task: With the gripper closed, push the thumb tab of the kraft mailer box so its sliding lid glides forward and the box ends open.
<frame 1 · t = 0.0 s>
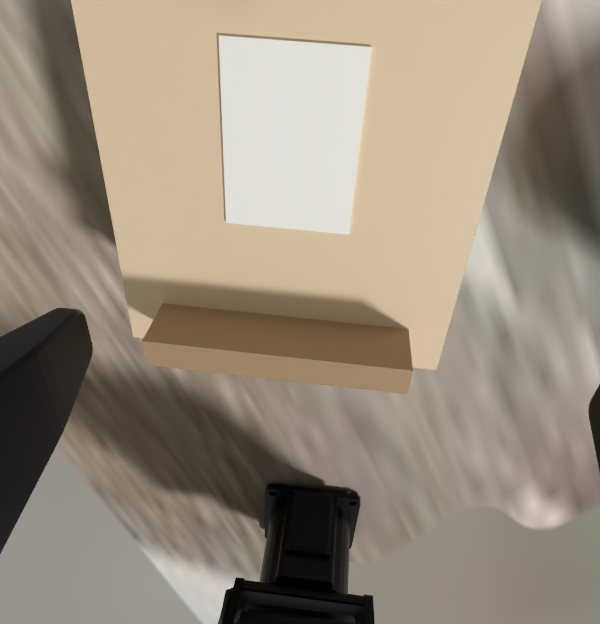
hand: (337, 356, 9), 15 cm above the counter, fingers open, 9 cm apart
lid: (285, 213, 17), point 6 cm above the counter, slide at 0.0 cm
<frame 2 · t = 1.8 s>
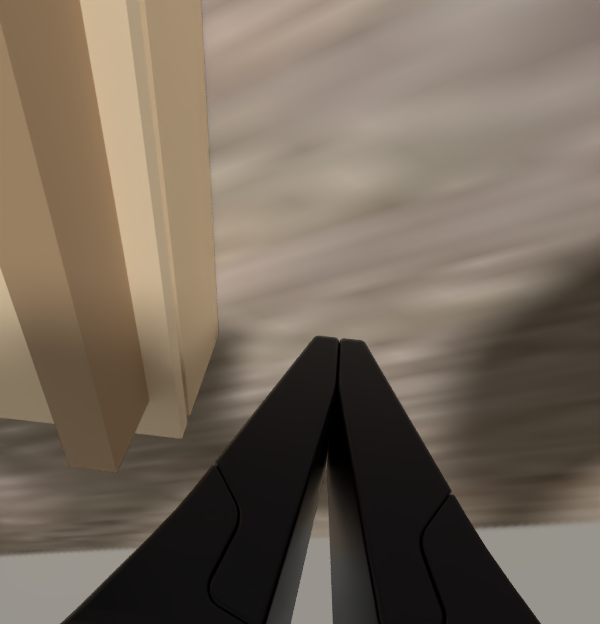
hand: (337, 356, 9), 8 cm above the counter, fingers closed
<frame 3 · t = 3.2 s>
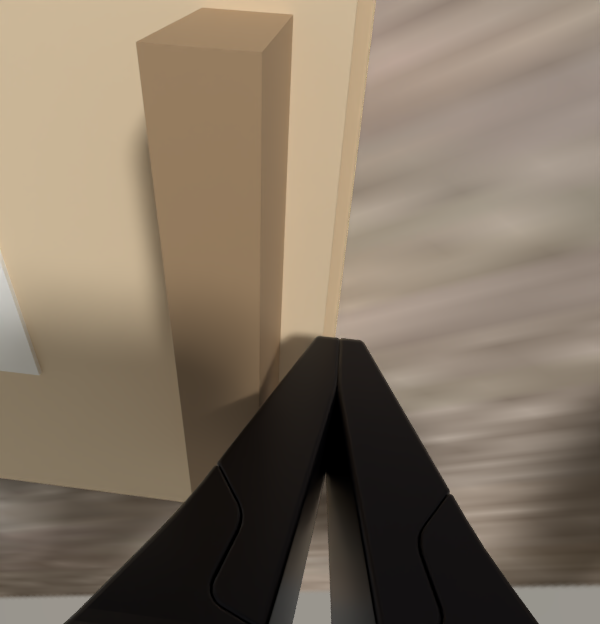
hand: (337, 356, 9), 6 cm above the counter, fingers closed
mailer box: (86, 183, 14), on the counter
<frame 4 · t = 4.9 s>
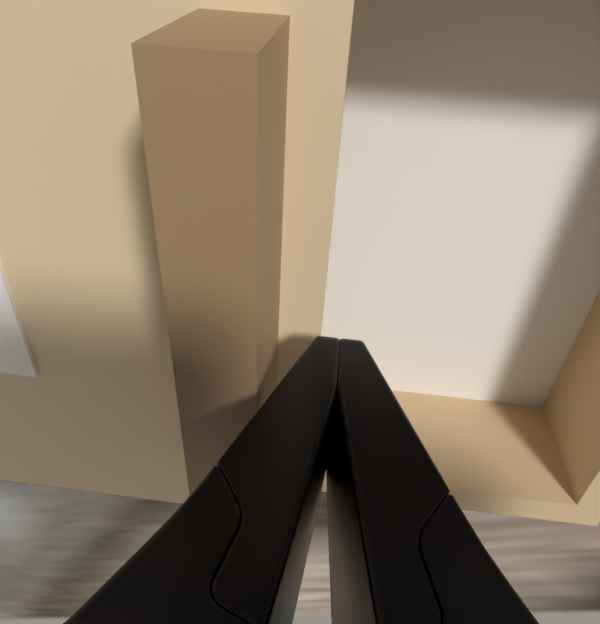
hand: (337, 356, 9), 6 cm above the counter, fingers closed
mailer box: (366, 211, 14), on the counter
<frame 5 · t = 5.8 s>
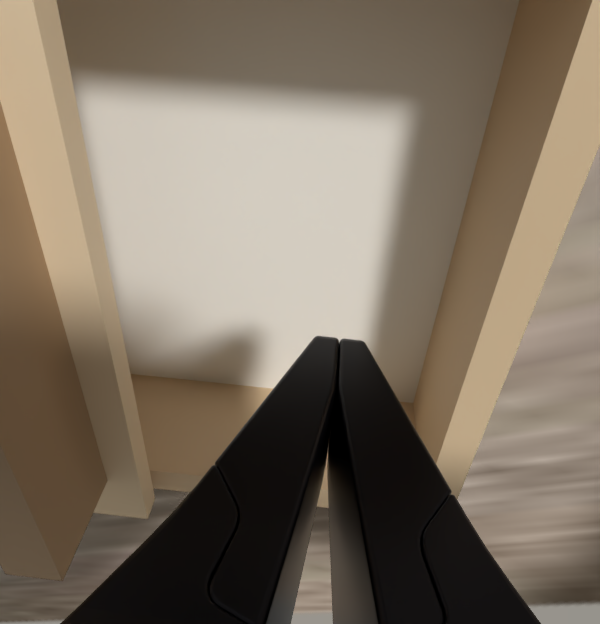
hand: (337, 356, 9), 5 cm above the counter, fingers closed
mailer box: (209, 207, 13), on the counter
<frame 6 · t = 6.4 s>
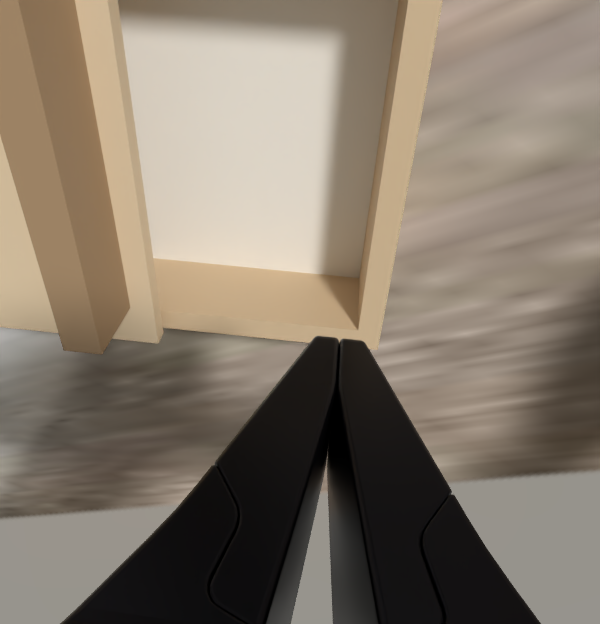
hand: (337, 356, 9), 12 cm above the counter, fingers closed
mailer box: (203, 117, 19), on the counter
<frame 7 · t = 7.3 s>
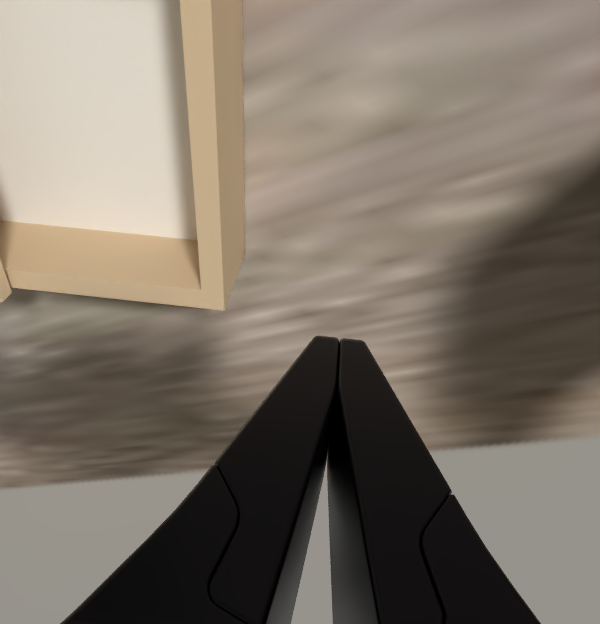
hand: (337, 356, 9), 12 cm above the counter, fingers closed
mailer box: (48, 76, 19), on the counter
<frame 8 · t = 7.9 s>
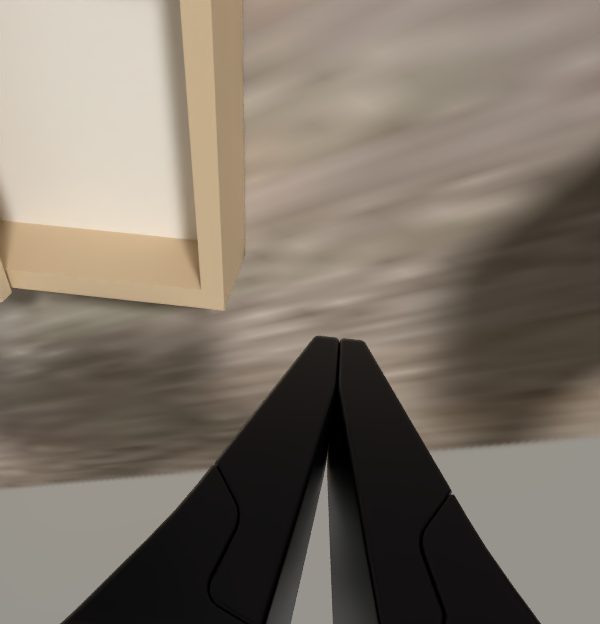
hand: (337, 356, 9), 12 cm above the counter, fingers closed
mailer box: (48, 76, 19), on the counter
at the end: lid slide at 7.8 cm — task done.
